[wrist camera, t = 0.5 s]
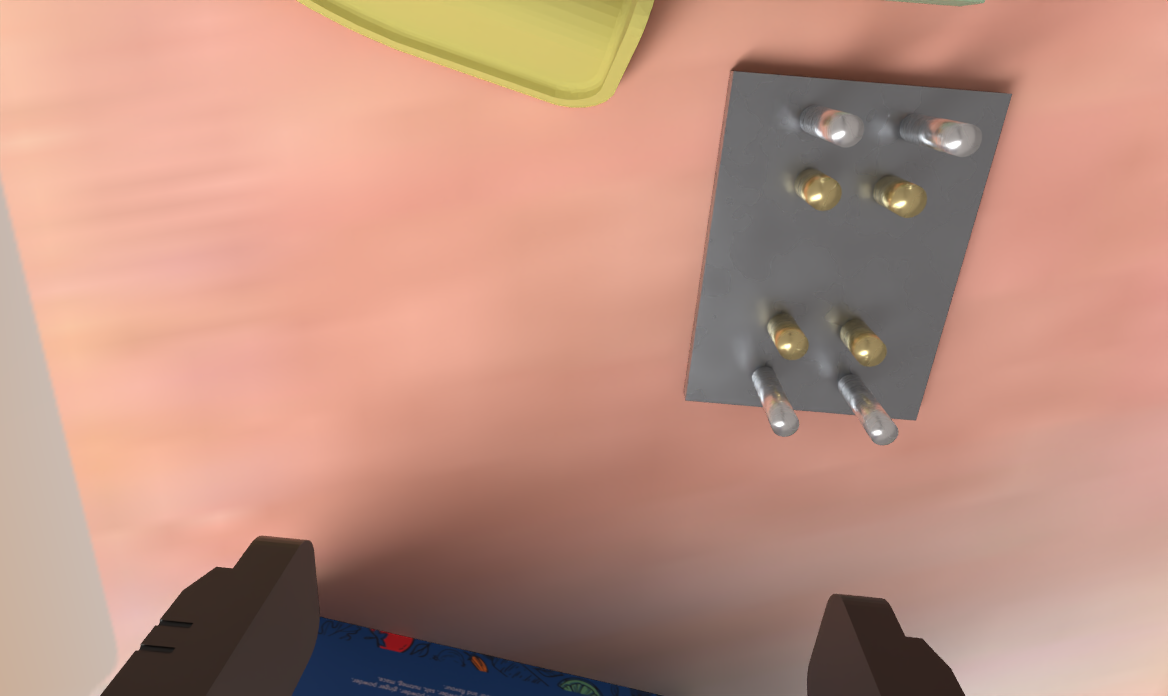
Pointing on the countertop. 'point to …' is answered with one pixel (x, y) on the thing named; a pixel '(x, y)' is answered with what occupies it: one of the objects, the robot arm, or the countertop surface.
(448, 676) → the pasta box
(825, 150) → the chassis
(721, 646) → the countertop surface
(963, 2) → the board
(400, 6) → the plastic component
